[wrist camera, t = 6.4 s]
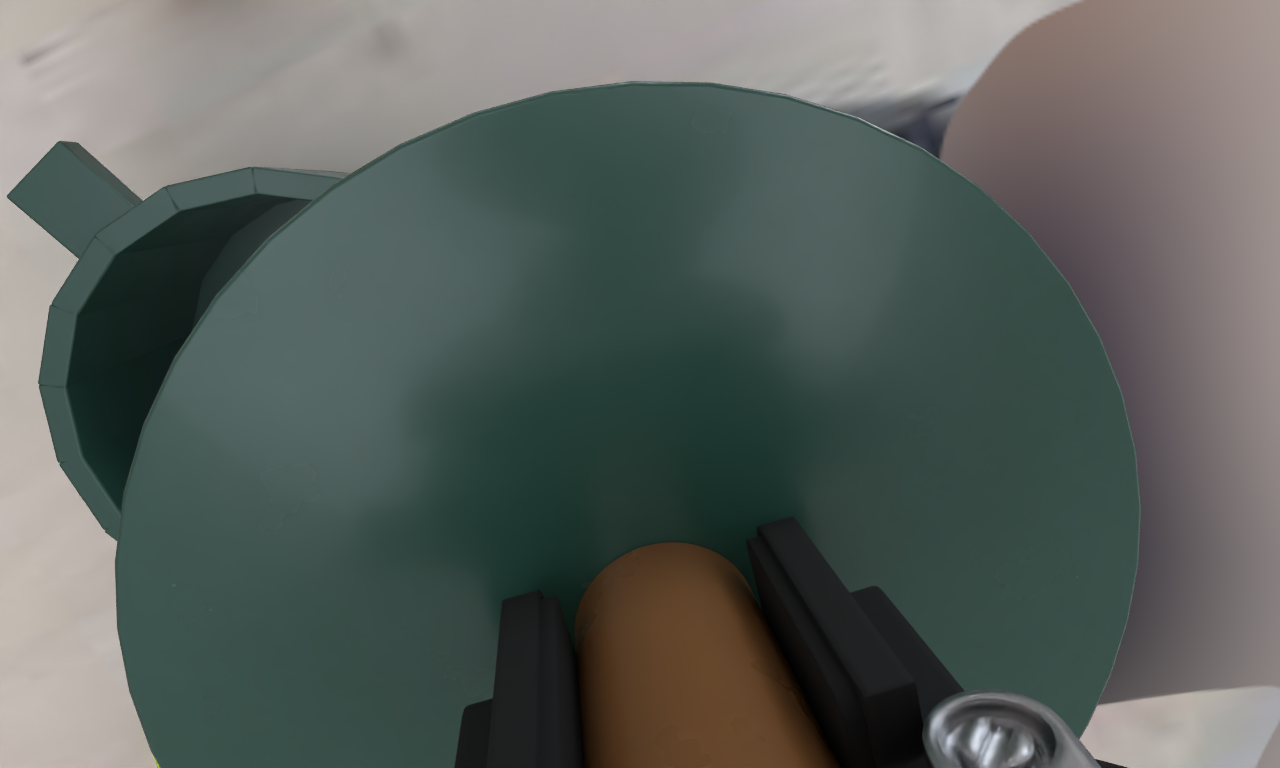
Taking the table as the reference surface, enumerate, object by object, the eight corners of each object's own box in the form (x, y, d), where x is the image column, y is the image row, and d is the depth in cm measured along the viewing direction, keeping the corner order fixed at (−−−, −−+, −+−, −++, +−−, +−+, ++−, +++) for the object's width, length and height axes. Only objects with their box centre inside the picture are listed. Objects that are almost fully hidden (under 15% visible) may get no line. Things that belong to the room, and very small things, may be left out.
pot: (293, 43, 31) (189, -16, 22) (634, 391, 36) (665, 461, 27) (47, 296, 32) (-150, 341, 23) (411, 598, 37) (370, 732, 28)
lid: (714, -167, 10) (947, -637, 4) (1241, 584, 15) (1725, 867, 9) (-78, 585, 12) (-729, 1017, 6) (616, 1076, 16) (662, 1619, 10)
